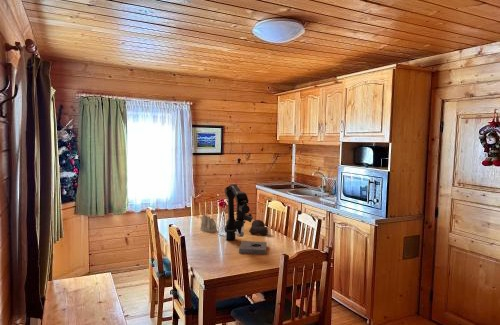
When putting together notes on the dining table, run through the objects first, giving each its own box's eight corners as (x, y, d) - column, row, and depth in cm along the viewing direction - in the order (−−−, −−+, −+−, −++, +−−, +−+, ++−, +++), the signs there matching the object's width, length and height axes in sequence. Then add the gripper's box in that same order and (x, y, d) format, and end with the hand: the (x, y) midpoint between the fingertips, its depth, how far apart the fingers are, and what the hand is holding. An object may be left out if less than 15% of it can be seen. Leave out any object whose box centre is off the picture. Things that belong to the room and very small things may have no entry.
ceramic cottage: (210, 233, 280) (210, 214, 280) (196, 230, 291) (197, 212, 291) (223, 230, 292) (224, 212, 292) (209, 227, 303) (210, 210, 303)
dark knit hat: (266, 227, 275) (269, 219, 289) (247, 227, 278) (251, 219, 292) (266, 238, 277) (269, 230, 291) (248, 238, 280) (252, 230, 294)
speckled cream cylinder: (236, 236, 241) (236, 225, 241) (237, 234, 246) (237, 223, 246) (243, 236, 241) (243, 225, 240) (244, 235, 246) (244, 223, 245)
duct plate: (238, 253, 235) (239, 248, 234) (241, 244, 253) (241, 240, 252) (265, 254, 233) (265, 250, 233) (266, 246, 251) (266, 242, 251)
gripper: (250, 214, 232) (250, 237, 233) (253, 208, 251) (253, 230, 252) (234, 213, 233) (233, 236, 234) (238, 208, 252) (237, 229, 253)
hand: (240, 232), depth 243 cm, fingers closed on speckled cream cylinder, 5 cm apart
